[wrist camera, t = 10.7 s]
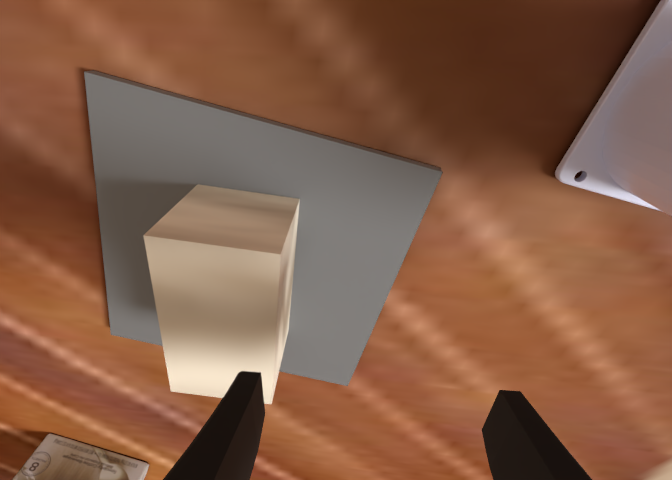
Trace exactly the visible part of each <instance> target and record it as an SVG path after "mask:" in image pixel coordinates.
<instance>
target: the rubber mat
mask: <svg viewBox="0 0 672 480" xmlns="http://www.w3.org/2000/svg"><path fill="white" fill-rule="evenodd" d="M84 75H85V85H86V95H87V105H88V115H89V124H90V134H91V144H92V154H93V164H94V173H95V183H96V193H97V203H98V213H99V223H100V232H101V242H102V252H103V262H104V272H105V281H106V291H107V301H108V311H109V321H110V331H111V335H115V336H120V337H124V338H129V339H133V340H138V341H143V342H147V343H152V344H156V345H161V346H163V344H162V338H161V332H160V327H159V321H158V315H157V310H156V304H155V298H154V293H153V287H152V281H151V276H150V270H149V264H148V259H147V253H146V247H145V242H144V236H143V235H144V234H145V233H146V232H148V231H149V230H150V229H151V228H152V227H153V226H154V225H155V224H156V223H157V222H158V221H159V220H160V219H161V218H162V217H163V216H165V215H166V214H167V213H168V212H169V211H170V210H171V209H172V208H173V207H174V206H175V205H176V204H177V203H178V202H179V201H180V200H182V199H183V198H184V197H185V196H186V195H187V194H188V193H189V192H190V191H191V190H192V189H193V188H194V187H195V186H196V185H197V184H199V185H206V186H213V187H220V188H227V189H234V190H241V191H248V192H255V193H262V194H269V195H276V196H283V197H290V198H297V199H300V202H299V214H298V226H297V237H296V249H295V260H294V272H293V284H292V295H291V307H290V318H289V330H288V335H287V339H286V343H285V348H284V352H283V356H282V361H281V365H280V369H279V371H281V372H285V373H290V374H295V375H299V376H304V377H308V378H313V379H318V380H322V381H327V382H331V383H336V384H341V385H345V386H348V384H349V382H350V380H351V377H352V375H353V373H354V371H355V368H356V366H357V364H358V362H359V359H360V357H361V355H362V353H363V350H364V348H365V346H366V344H367V341H368V339H369V337H370V335H371V332H372V330H373V328H374V326H375V323H376V321H377V319H378V317H379V314H380V312H381V310H382V308H383V305H384V303H385V301H386V299H387V296H388V294H389V292H390V290H391V287H392V285H393V283H394V281H395V278H396V276H397V274H398V272H399V269H400V267H401V265H402V263H403V260H404V258H405V256H406V254H407V251H408V249H409V247H410V245H411V242H412V240H413V238H414V236H415V233H416V231H417V229H418V227H419V224H420V222H421V220H422V218H423V215H424V213H425V211H426V209H427V206H428V204H429V202H430V200H431V197H432V195H433V193H434V191H435V188H436V186H437V184H438V182H439V179H440V177H441V175H442V173H443V172H442V170H441V169H440V168H439V167H435V166H432V165H428V164H425V163H421V162H417V161H414V160H410V159H407V158H403V157H400V156H396V155H393V154H389V153H385V152H382V151H378V150H375V149H371V148H368V147H364V146H361V145H357V144H353V143H350V142H346V141H343V140H339V139H336V138H332V137H329V136H325V135H321V134H318V133H314V132H311V131H307V130H304V129H300V128H297V127H293V126H289V125H286V124H282V123H279V122H275V121H272V120H268V119H265V118H261V117H258V116H254V115H250V114H247V113H243V112H240V111H236V110H233V109H229V108H226V107H222V106H218V105H215V104H211V103H208V102H204V101H201V100H197V99H194V98H190V97H186V96H183V95H179V94H176V93H172V92H169V91H165V90H162V89H158V88H154V87H151V86H147V85H144V84H140V83H137V82H133V81H130V80H126V79H122V78H119V77H115V76H112V75H108V74H105V73H101V72H98V71H94V70H92V71H85V72H84Z"/></svg>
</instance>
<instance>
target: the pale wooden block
mask: <svg viewBox="0 0 672 480" xmlns="http://www.w3.org/2000/svg"><path fill="white" fill-rule="evenodd" d="M299 202H300V199H297V198H290V197H283V196H276V195H269V194H262V193H255V192H248V191H241V190H234V189H227V188H220V187H213V186H206V185H199V184H197V185H196V186H195V187H194V188H193V189H192V190H191V191H190V192H189V193H188V194H187V195H186V196H185V197H184V198H183V199H182V200H180V201H179V202H178V203H177V204H176V205H175V206H174V207H173V208H172V209H171V210H170V211H169V212H168V213H167V214H166V215H165V216H163V217H162V218H161V219H160V220H159V221H158V222H157V223H156V224H155V225H154V226H153V227H152V228H151V229H150V230H149V231H148V232H146V233H145V234H144V235H143V236H144V242H145V247H146V253H147V259H148V264H149V270H150V276H151V281H152V287H153V293H154V298H155V304H156V310H157V315H158V321H159V327H160V332H161V338H162V344H163V349H164V355H165V361H166V366H167V372H168V378H169V383H170V389H171V391H172V392H180V393H188V394H196V395H203V396H211V397H219V398H223V397H224V395H225V394H226V392H227V391H228V389H229V388H230V386H231V384H232V383H233V381H234V379H235V378H236V376H237V374H238V373H239V372H241V371H248V372H261V377H262V387H263V397H264V403H265V404H272V400H273V395H274V391H275V387H276V382H277V378H278V374H279V369H280V365H281V361H282V356H283V352H284V348H285V343H286V339H287V335H288V330H289V318H290V307H291V295H292V284H293V272H294V260H295V249H296V237H297V226H298V214H299Z"/></svg>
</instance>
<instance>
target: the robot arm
mask: <svg viewBox="0 0 672 480" xmlns="http://www.w3.org/2000/svg"><path fill="white" fill-rule="evenodd" d="M580 171H582V174H581V176H580V177H579V178H576V179H574V177H575V175H576V174H577V173H578V172H580ZM555 176H556V178H557V179H558V180H559V181H561V182H562V183H565V184H568V185H572V186H575V187H579V188H582V189H586V190H589V191H593V192H596V193H600V194H603V195H607V196H610V197H614V198H617V199H621V200H624V201H627V202H631V203H634V204H638V205H641V206H645V207H648V208H652V209H655V210H659V211H662V212H664V213H666V214H668V215H669V216H671V217H672V0H661V1H660V2H659V4H658V6H657V7H656V9H655V10H654V12H653V14H652V15H651V17H650V18H649V20H648V22H647V23H646V25H645V27H644V28H643V30H642V31H641V33H640V35H639V36H638V38H637V39H636V41H635V43H634V44H633V46H632V48H631V49H630V51H629V52H628V54H627V56H626V57H625V59H624V60H623V62H622V64H621V65H620V67H619V68H618V70H617V72H616V73H615V75H614V77H613V78H612V80H611V81H610V83H609V85H608V86H607V88H606V89H605V91H604V93H603V94H602V96H601V98H600V99H599V101H598V102H597V104H596V106H595V107H594V109H593V110H592V112H591V114H590V115H589V117H588V119H587V120H586V122H585V123H584V125H583V127H582V128H581V130H580V131H579V133H578V135H577V136H576V138H575V139H574V141H573V143H572V144H571V146H570V148H569V149H568V151H567V152H566V154H565V156H564V157H563V159H562V160H561V162H560V164H559V165H558V167H557V169H556V171H555ZM264 416H265V407H264V397H263V387H262V377H261V372H248V371H241V372H239V373H238V374H237V376H236V378H235V379H234V381H233V383H232V384H231V386H230V388H229V389H228V391H227V392H226V394H225V395H224V397H223V399H222V400H221V402H220V403H219V405H218V406H217V408H216V409H215V411H214V412H213V414H212V415H211V417H210V418H209V419H208V421H207V422H206V424H205V425H204V426H203V428H202V429H201V431H200V432H199V433H198V435H197V436H196V438H195V439H194V440H193V442H192V443H191V444H190V446H189V447H188V448H187V450H186V451H185V452H184V453H183V455H182V456H181V457H180V459H179V460H178V461H177V462H176V464H175V465H174V466H173V468H172V469H171V470H170V471H169V473H168V474H167V475H166V476H165V478H164V479H163V480H250V476H251V473H252V469H253V466H254V462H255V459H256V455H257V452H258V448H259V443H260V438H261V433H262V427H263V422H264ZM482 433H483V438H484V443H485V448H486V453H487V457H488V462H489V466H490V470H491V473H492V476H493V479H494V480H592V479H591V478H590V477H589V475H588V474H587V473H586V472H585V471H584V469H583V468H582V467H581V466H580V465H579V463H578V462H577V461H576V460H575V459H574V458H573V456H572V455H571V454H570V453H569V452H568V450H567V449H566V448H565V447H564V445H563V444H562V443H561V442H560V441H559V439H558V438H557V437H556V436H555V434H554V433H553V432H552V431H551V429H550V428H549V427H548V426H547V424H546V423H545V422H544V421H543V419H542V418H541V417H540V415H539V414H538V413H537V412H536V410H535V409H534V408H533V407H532V405H531V404H530V403H529V402H528V400H527V399H526V398H525V397H524V395H523V394H522V393H521V392H520V391H506V390H499V393H498V395H497V397H496V399H495V402H494V404H493V406H492V408H491V411H490V413H489V415H488V417H487V419H486V422H485V424H484V426H483V428H482Z"/></svg>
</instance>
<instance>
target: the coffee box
mask: <svg viewBox="0 0 672 480" xmlns="http://www.w3.org/2000/svg"><path fill="white" fill-rule="evenodd" d="M148 467H149V464H147V463H146V462H142V461H139V460H136V459H133V458H129V457H126V456H123V455H120V454H117V453H114V452H110V451H107V450H104V449H101V448H97V447H94V446H91V445H88V444H84V443H81V442H78V441H75V440H72V439H68V438H65V437H61V436H58V435H55V434H51V433H49V434H48V435H47V436H46V437H45V438H44V440H43V441H42V442H41V444H40V445H39V446H38V447H37V449H36V450H35V451H34V453H33V454H32V455H31V456H30V458H29V459H28V460H27V461H26V463H25V464H24V465H23V467H22V468H21V469H20V470H19V472H18V473H17V474H16V475H15V477H14V478H13V479H12V480H144V478H145V476H146V473H147V470H148Z"/></svg>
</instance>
